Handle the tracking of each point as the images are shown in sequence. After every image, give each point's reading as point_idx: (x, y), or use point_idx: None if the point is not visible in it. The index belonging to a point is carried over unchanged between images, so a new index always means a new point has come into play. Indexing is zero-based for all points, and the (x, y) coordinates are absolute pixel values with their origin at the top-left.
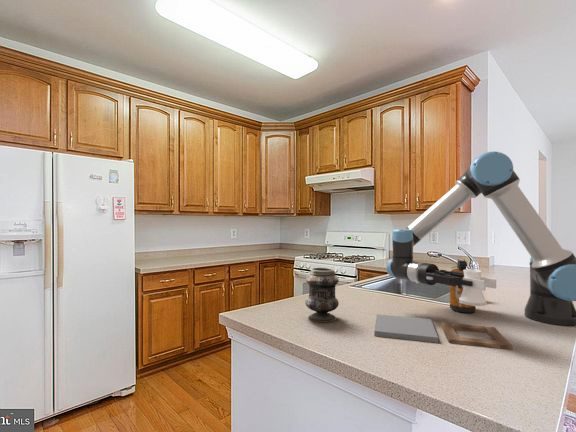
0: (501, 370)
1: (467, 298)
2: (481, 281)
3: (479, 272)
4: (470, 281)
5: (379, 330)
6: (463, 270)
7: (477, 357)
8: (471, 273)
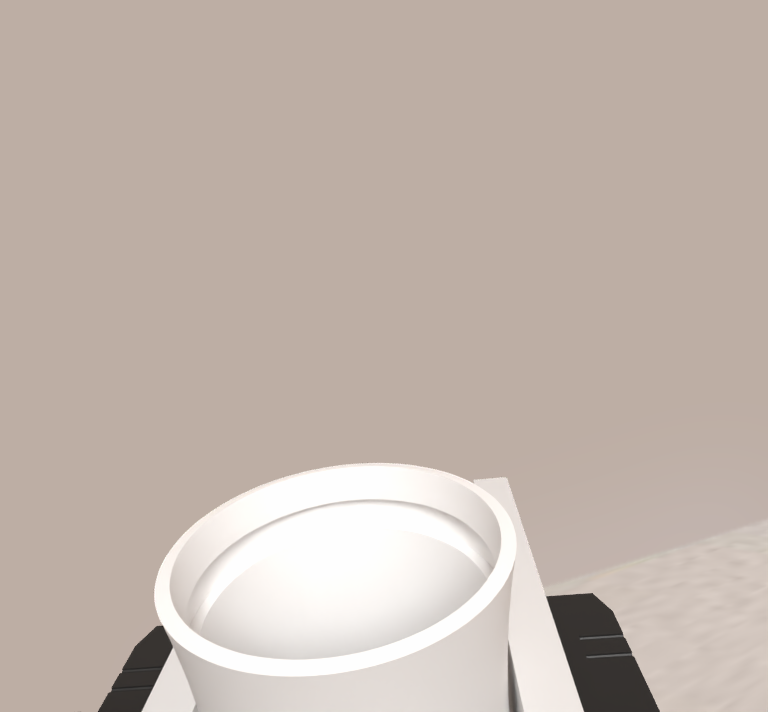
0: (759, 694)
1: None
2: (511, 501)
3: (361, 476)
4: (580, 601)
5: None
6: (474, 620)
7: None
8: (483, 521)
